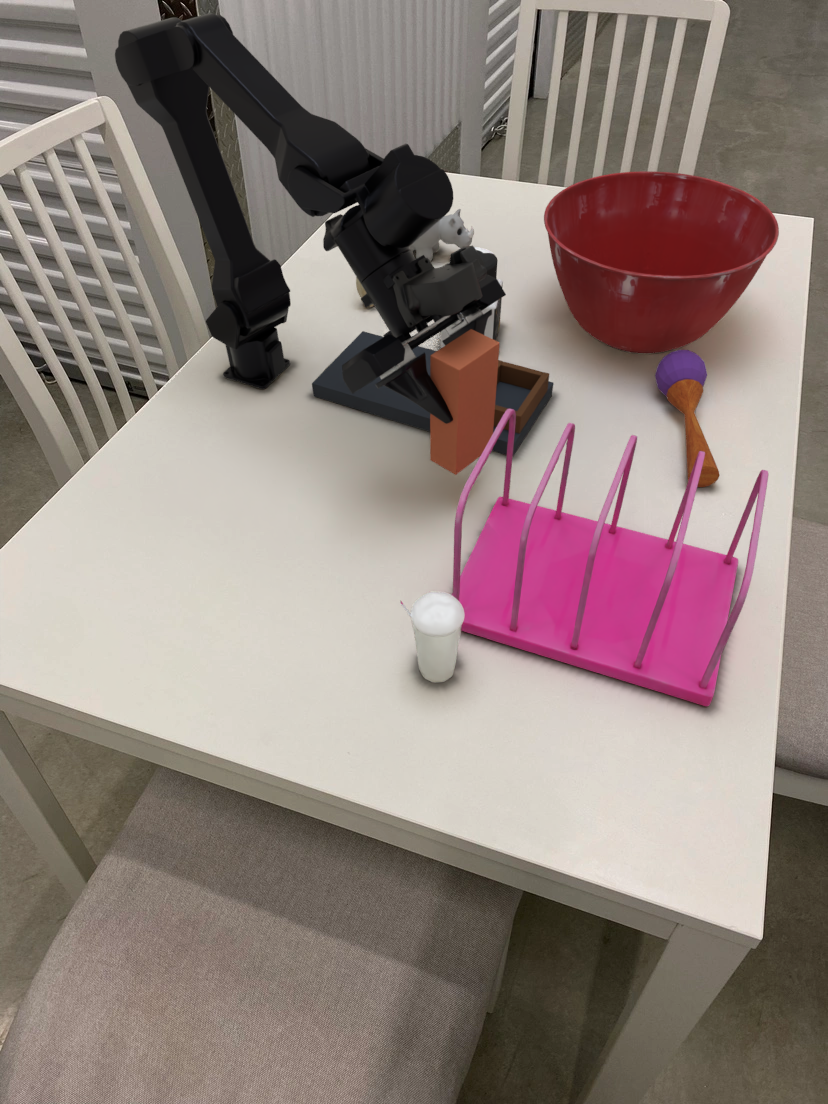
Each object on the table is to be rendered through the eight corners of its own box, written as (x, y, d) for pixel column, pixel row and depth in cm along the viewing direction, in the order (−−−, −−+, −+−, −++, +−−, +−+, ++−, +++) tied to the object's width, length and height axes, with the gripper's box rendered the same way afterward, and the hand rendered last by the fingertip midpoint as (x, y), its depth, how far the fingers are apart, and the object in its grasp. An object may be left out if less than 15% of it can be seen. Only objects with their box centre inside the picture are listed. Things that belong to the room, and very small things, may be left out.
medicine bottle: (492, 355, 108) (498, 271, 100) (440, 349, 109) (440, 266, 101) (499, 326, 113) (505, 243, 104) (449, 321, 114) (450, 238, 105)
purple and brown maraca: (676, 460, 87) (652, 343, 100) (674, 497, 92) (652, 381, 104) (734, 454, 86) (703, 336, 99) (730, 492, 91) (700, 375, 103)
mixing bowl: (512, 367, 106) (521, 255, 95) (555, 262, 125) (567, 158, 113) (737, 405, 100) (776, 290, 89) (748, 289, 118) (781, 181, 107)
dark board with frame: (313, 396, 103) (309, 366, 100) (363, 343, 111) (361, 314, 107) (512, 457, 94) (515, 426, 91) (551, 395, 102) (555, 365, 99)
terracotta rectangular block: (429, 460, 86) (430, 355, 76) (466, 433, 89) (471, 328, 79) (455, 475, 84) (459, 369, 75) (492, 447, 87) (500, 342, 78)
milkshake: (401, 650, 76) (398, 581, 69) (458, 646, 76) (461, 576, 69) (405, 692, 73) (402, 623, 66) (464, 687, 73) (468, 618, 66)
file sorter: (497, 507, 89) (507, 388, 77) (734, 569, 82) (784, 449, 71) (440, 626, 78) (442, 508, 66) (708, 708, 71) (762, 594, 60)
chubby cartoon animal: (465, 274, 123) (466, 219, 116) (390, 262, 126) (388, 207, 119) (479, 252, 127) (481, 198, 121) (407, 241, 130) (406, 187, 124)
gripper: (354, 269, 67) (454, 431, 70) (496, 192, 76) (579, 339, 79) (301, 319, 76) (391, 460, 79) (433, 246, 86) (509, 375, 89)
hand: (470, 407), depth 81 cm, fingers closed on terracotta rectangular block, 6 cm apart
